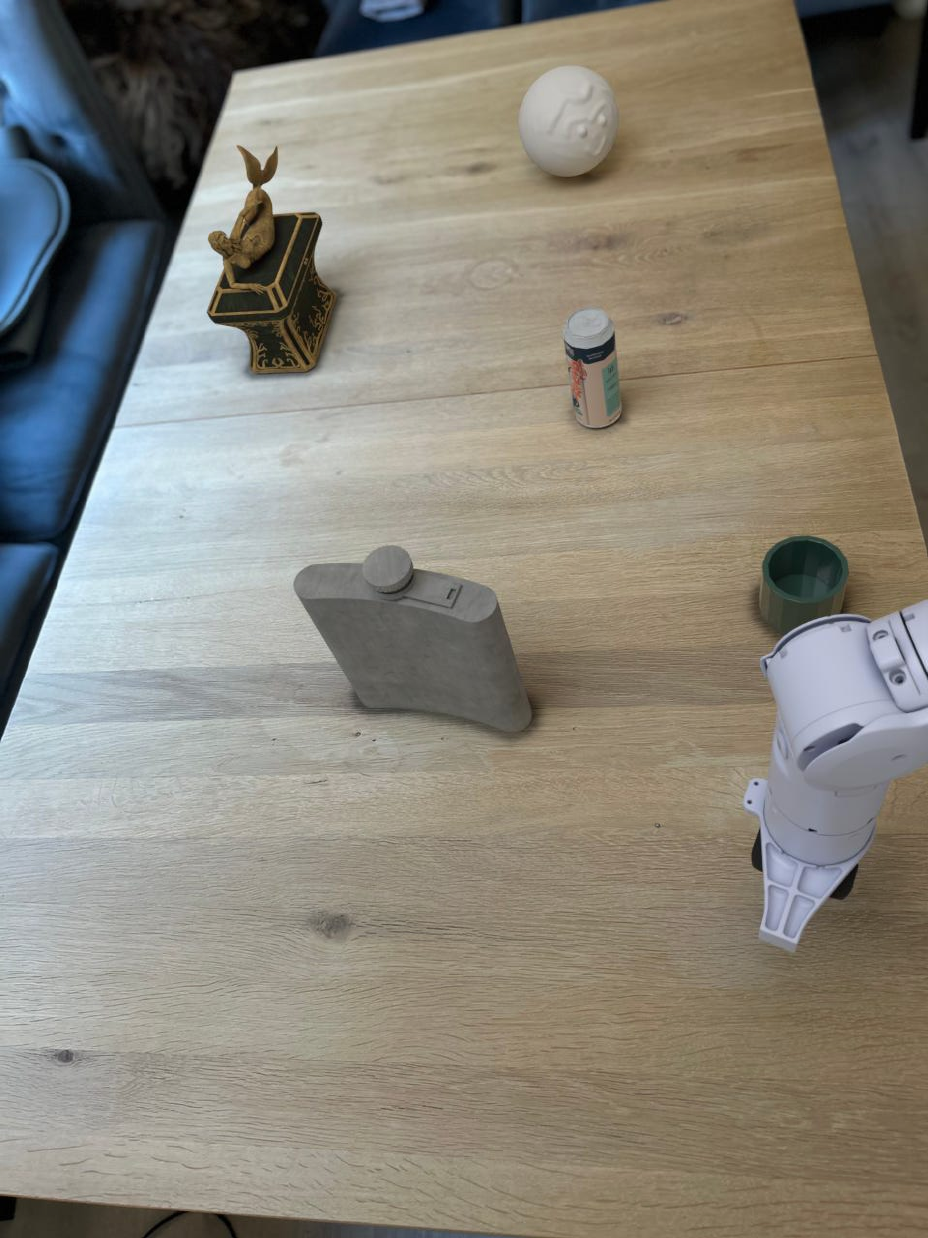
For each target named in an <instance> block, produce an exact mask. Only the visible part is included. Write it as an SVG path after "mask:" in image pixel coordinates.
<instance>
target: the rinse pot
mask: <svg viewBox="0 0 928 1238" xmlns="http://www.w3.org/2000/svg"><path fill="white" fill-rule="evenodd" d="M760 570H761V571H760V581H759V595H758V599H759V602H758V604H759V611H760V615H761V617H762V619H763V621H764V622H765V623H766V624H767V625H768V626H769V627H770V628H771V629H772V630H773V631H775V632H777V633H778V634H781V635H783V636H785V635H786V634H788V633H789V632H790V631H792V630H794V629H795V628H797V627H799V626H801V625H803V624H805V623H807V622H810V621H813V620H816V619H819V618H822V617H826V616H827V617H829V616H831V615H838V614H841V611H842V609H843V604H844V600H845V595H846V590H847V585H848V581H849V576H850V568H849V562H848V559H847V557H846V556H845V555H844V553H843V551H842V550H841V549H840V548H839V547H838V546H837V545H835V544H833V543H831V541H828V540H827V539H825V538H821V537H818V536H814V535H793V536H790V537H787V538H785V539H782V540H779V541H778V542H776V543H775V544H774V545H773V546H772V547H771V548H770V549H768V550H767V552H766V553H765V555H764V558H763V561H762V563H761V569H760Z"/></svg>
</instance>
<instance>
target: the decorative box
mask: <svg viewBox="0 0 928 1238" xmlns="http://www.w3.org/2000/svg"><path fill="white" fill-rule="evenodd" d="M236 148H237V150H238V151H239V152H240V154H241V156H242V158H243V161H244V165H245V171H246V177H247V180H248V182H249V183H250V184H252V189H251V190H250V191H249V192H248V193H247V195H246V198H245V202H244V207H243V208H242V209H241V211H239V212H238V216H237V218H236V220H235V222H234V225H233V228H232V229H231V231H230V234H229V236H228V235H227V233H225V232H224V231H222V230H216V231H215V230H214V231H212V232H210V233H209V234H208V237H207V241H208V243H209V245H210V247H211V249H212V250H213V251H214V252H216V253H217V254H219V255H220V256H222V266H223V269H222V272H221V273H220V276H219V278H218V281H217V283H216V286H215V288H214V291H213V294H212V296H211V299H210V300H209V304H208V307H207V309H206V314H207V316H208V318H209V319H210V320H211V322H212V323H214V324H215V325H219V326H225V327H231V328H235V329H238V330H241V331H242V332H243V333H244V334H245V336H246V337H247V340H248V342H249V365H248V366H249V370H251V371H252V372H253V373H254V374H271V373H272V374H274V373H275V374H277V373H302V372H308V371H310V370H311V369H313V368H314V367H316V366H317V365H316V364H317V362H318V359H319V355H320V352H321V350H322V347H323V343H324V340H325V337H326V334H327V331H328V327H329V325H330V321H331V318H332V315H333V312H334V310H335V307H336V303H337V300H338V293H336V292H335V291H334V290H333V289H332V288H331V287H329V286H328V285H327V284H326V283H324V281H323V280H322V279H321V277H320V275H319V273H318V271H317V269H316V263H315V254H316V253H315V252H316V247H317V243H318V240H319V237H320V234H321V232H322V228H323V220H322V217H321V215H320V214H318V213H317V212H315V211H303V212H302V211H300V212H299V211H298V212H287V213H286V212H285V213H274V211H273V209H274V208H273V202H272V199H271V198H270V195H269V194H268V192H267V191H266V190H265V189H263V188H262V186H263V185H264V184H265V185H266V184H268V183H269V182H271V180H272V179H273V178H274V176H275V175H276V173H277V169H278V164H279V148H278V146H277V145H275V147H274V150H273V152H272V153H271V154H270V155H269V156H268V158H267V159H266V160H265V163H264V167H263V169H262V165H261V162H260V160H259V159H258V158H257V157H256V156H255V155H254V154H252V153H251V152H250V151H249V150H247V149H246V148H244V147H243V146H242V145H239V144H237V145H236Z"/></svg>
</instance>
